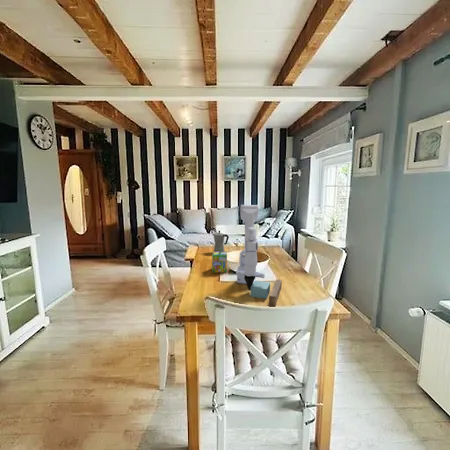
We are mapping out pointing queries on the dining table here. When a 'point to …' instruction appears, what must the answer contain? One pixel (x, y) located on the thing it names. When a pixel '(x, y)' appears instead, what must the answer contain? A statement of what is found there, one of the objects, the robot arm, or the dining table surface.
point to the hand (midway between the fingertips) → (249, 289)
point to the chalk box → (219, 262)
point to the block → (260, 289)
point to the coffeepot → (219, 241)
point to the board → (275, 292)
